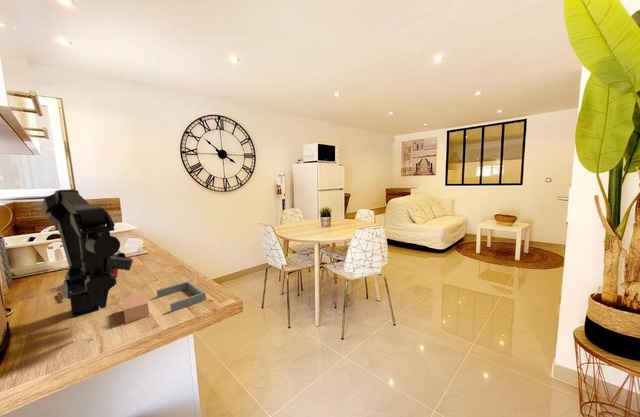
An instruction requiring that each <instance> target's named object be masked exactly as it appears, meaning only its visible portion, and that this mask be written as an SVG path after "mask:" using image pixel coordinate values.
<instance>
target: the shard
mask: <svg viewBox="0 0 640 417" xmlns="http://www.w3.org/2000/svg"><path fill="white" fill-rule="evenodd" d="M70 292H71V291H70ZM56 295H57V297H58V299H59V301H60V303H64V302H66V301H68V300H69V299H67V298H66V297H64V296H63V292H62V290H61V291H60V292H57V293H56Z"/></svg>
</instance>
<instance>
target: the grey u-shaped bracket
mask: <svg viewBox="0 0 640 417" xmlns="http://www.w3.org/2000/svg"><path fill="white" fill-rule="evenodd" d="M187 288H188V289H187ZM184 290H188V291H189V292H191V293H193V295H191V296H189V297H186V298H183V299H180V300H176V301H173V302H171V303H169V307H170V312H171V313H172V312H175V311H176V312H177V311H178V310H180V309H184V308H186V307H189V306H192V305H195V304H197V303H200V302H201V303H202V302H204V301H206V300H207V295H206V292H205V291H204V290H202V289H201V288H199V287H197V286H196V285H195V284H193V283H192V282H191V281H189V280H188V281H184V282H181V283H178V284H173V285H169V286H167V287H164V288H160V289H156V297H157V298H161V297H165V296H168V295H171V294H174V293H178V292H181V291H184ZM203 300H204V301H203Z"/></svg>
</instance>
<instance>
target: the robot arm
mask: <svg viewBox="0 0 640 417" xmlns="http://www.w3.org/2000/svg"><path fill="white" fill-rule="evenodd" d="M41 207H42V212H43V214H46V216H47V220H48V221H50V222H51V223H53V224H54V225H56V226H57V229H58V232H59V233H58V234H59V236H60V237H59V238H60V240H61V243H62V247H63V251H64V254H65V257H66V260H67V264H68V268H67V271H66V273H65V275H64V280H63V282H62V287H61V291H62V292H63V296H64V297H66V298H67V299H68V300H69V301H70V308H71V309H70V313H71V317H72V318H75V317H79V316H82V315H85V314H89V313H92V312H95V311H99V310H100V309H104V308H106V307H107V301H108V297H109V292H110V290H111V289H112V288H114V287H115V286H116V285H117V284H118V283H117V277H115V276H114V274H112V273H110V272H111V271H112V269H118V270H124V271H130V270H131V267H132V266H133V265H132V264H133V261H134V260H133V258H132V257H129V256H126V253H125V252H121V253H120V252H118V250H120V248H121V242H120V240H119V239H118V238H117V237H116V236H114V235H111V232H115V223H114V221H113V219H112V217H111V215H110V214H109V213H108V211H107V210H105V208H104V207H102V206H100V205H97V204H90V203H89V202H88V200H86V199H85V198H83V197H82V195H80V192H79V191H78V189H59V190H55V191H54V193H53V194H51V195H48V196H46V197H44V198H43V201H42V203H41ZM117 252H118V253H117ZM115 253H117V254H116V255H115V256H112V255H114V254H115ZM70 291H71V292H70Z"/></svg>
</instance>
